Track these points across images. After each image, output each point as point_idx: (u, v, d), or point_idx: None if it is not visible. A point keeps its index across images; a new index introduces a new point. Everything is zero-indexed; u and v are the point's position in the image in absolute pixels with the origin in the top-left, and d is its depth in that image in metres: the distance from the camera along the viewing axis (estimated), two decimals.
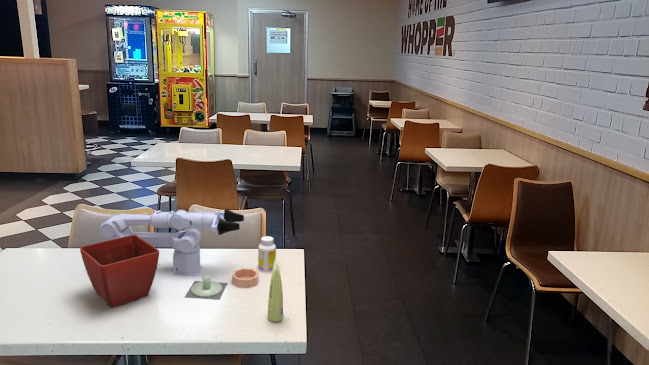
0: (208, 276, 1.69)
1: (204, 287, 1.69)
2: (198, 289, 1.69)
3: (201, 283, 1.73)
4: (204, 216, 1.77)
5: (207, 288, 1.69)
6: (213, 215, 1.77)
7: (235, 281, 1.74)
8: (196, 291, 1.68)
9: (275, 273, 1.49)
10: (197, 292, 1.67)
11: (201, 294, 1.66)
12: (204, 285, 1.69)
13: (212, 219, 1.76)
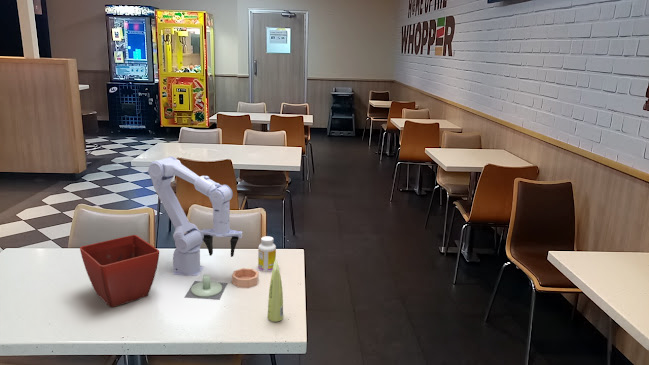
0: (208, 276, 1.69)
1: (204, 287, 1.69)
2: (198, 289, 1.69)
3: (201, 283, 1.73)
4: (215, 223, 1.71)
5: (207, 288, 1.69)
6: (217, 232, 1.72)
7: (235, 281, 1.74)
8: (196, 291, 1.68)
9: (275, 273, 1.49)
10: (197, 292, 1.67)
11: (201, 294, 1.66)
12: (204, 285, 1.69)
13: (213, 230, 1.73)
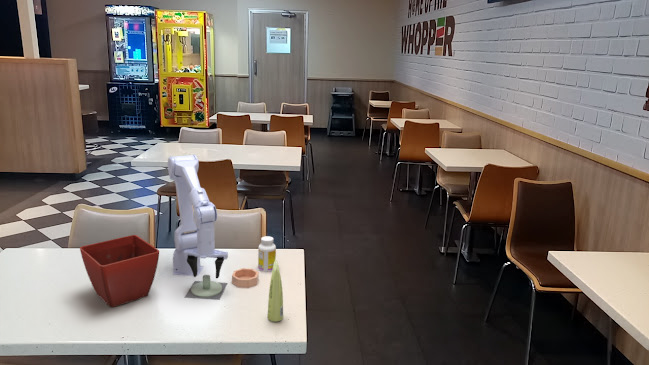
0: (208, 276, 1.69)
1: (204, 287, 1.69)
2: (198, 289, 1.69)
3: (201, 283, 1.73)
4: (199, 243, 1.64)
5: (207, 288, 1.69)
6: (201, 252, 1.64)
7: (235, 281, 1.74)
8: (196, 291, 1.68)
9: (275, 273, 1.49)
10: (197, 292, 1.67)
11: (201, 294, 1.66)
12: (204, 285, 1.69)
13: (197, 251, 1.65)
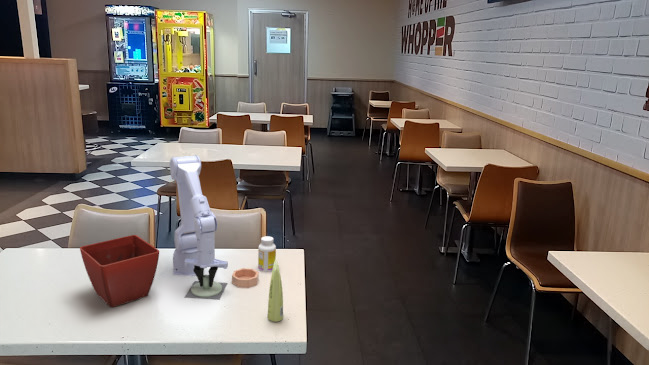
0: (208, 276, 1.69)
1: (204, 287, 1.69)
2: (198, 289, 1.69)
3: None
4: (199, 253, 1.64)
5: (207, 288, 1.69)
6: (201, 262, 1.65)
7: (235, 281, 1.74)
8: (196, 291, 1.68)
9: (275, 273, 1.49)
10: (197, 292, 1.67)
11: (201, 294, 1.66)
12: (204, 285, 1.69)
13: (198, 260, 1.66)
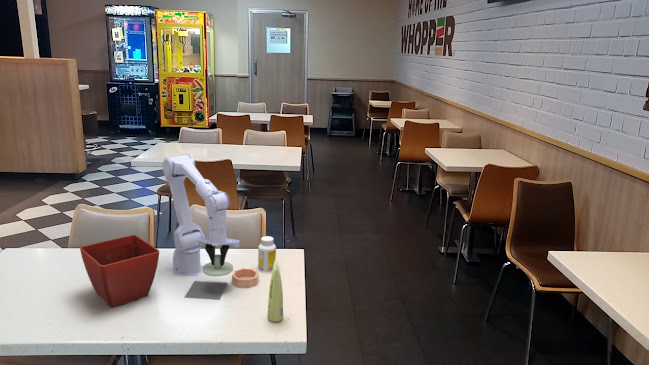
0: (219, 255, 1.69)
1: (215, 266, 1.69)
2: (210, 268, 1.70)
3: None
4: (211, 231, 1.65)
5: (218, 268, 1.69)
6: (212, 240, 1.65)
7: (235, 281, 1.74)
8: (207, 270, 1.68)
9: (275, 273, 1.49)
10: (208, 271, 1.67)
11: (212, 273, 1.66)
12: (215, 264, 1.69)
13: (209, 239, 1.66)
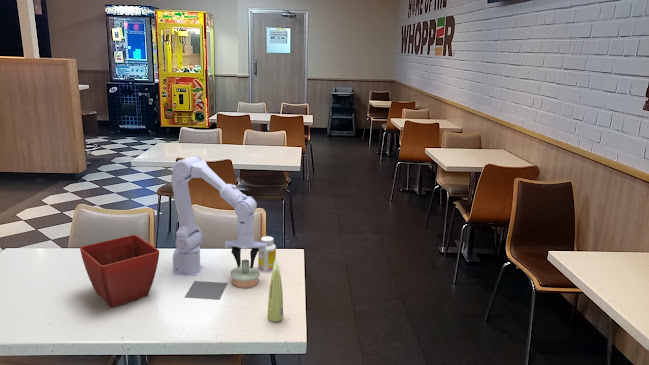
0: (247, 261, 1.76)
1: (243, 271, 1.76)
2: (237, 273, 1.76)
3: (240, 268, 1.80)
4: (240, 235, 1.71)
5: (246, 273, 1.76)
6: (241, 243, 1.71)
7: (235, 281, 1.74)
8: (235, 275, 1.74)
9: (275, 273, 1.49)
10: (236, 276, 1.74)
11: (240, 278, 1.72)
12: (243, 269, 1.75)
13: (238, 242, 1.72)
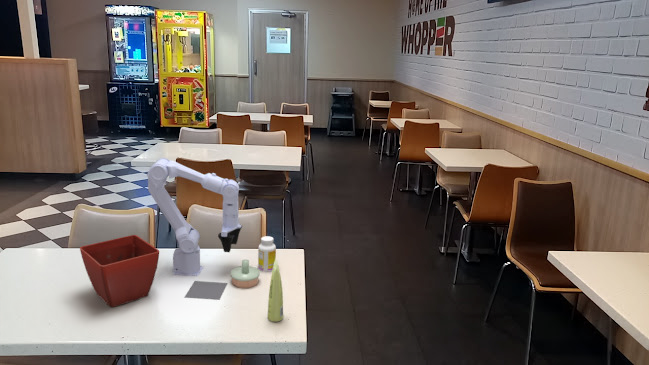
0: (247, 261, 1.76)
1: (243, 271, 1.76)
2: (237, 273, 1.76)
3: (240, 268, 1.80)
4: (235, 216, 1.78)
5: (246, 273, 1.76)
6: (236, 224, 1.80)
7: (235, 281, 1.74)
8: (235, 275, 1.74)
9: (275, 273, 1.49)
10: (236, 276, 1.74)
11: (240, 278, 1.72)
12: (243, 269, 1.75)
13: (232, 225, 1.78)
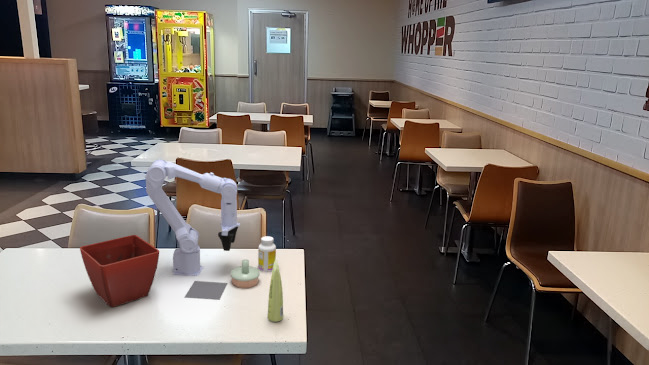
0: (247, 261, 1.76)
1: (243, 271, 1.76)
2: (237, 273, 1.76)
3: (240, 268, 1.80)
4: (234, 215, 1.79)
5: (246, 273, 1.76)
6: (235, 222, 1.81)
7: (235, 281, 1.74)
8: (235, 275, 1.74)
9: (275, 273, 1.49)
10: (236, 276, 1.74)
11: (240, 278, 1.72)
12: (243, 269, 1.75)
13: (232, 223, 1.79)
